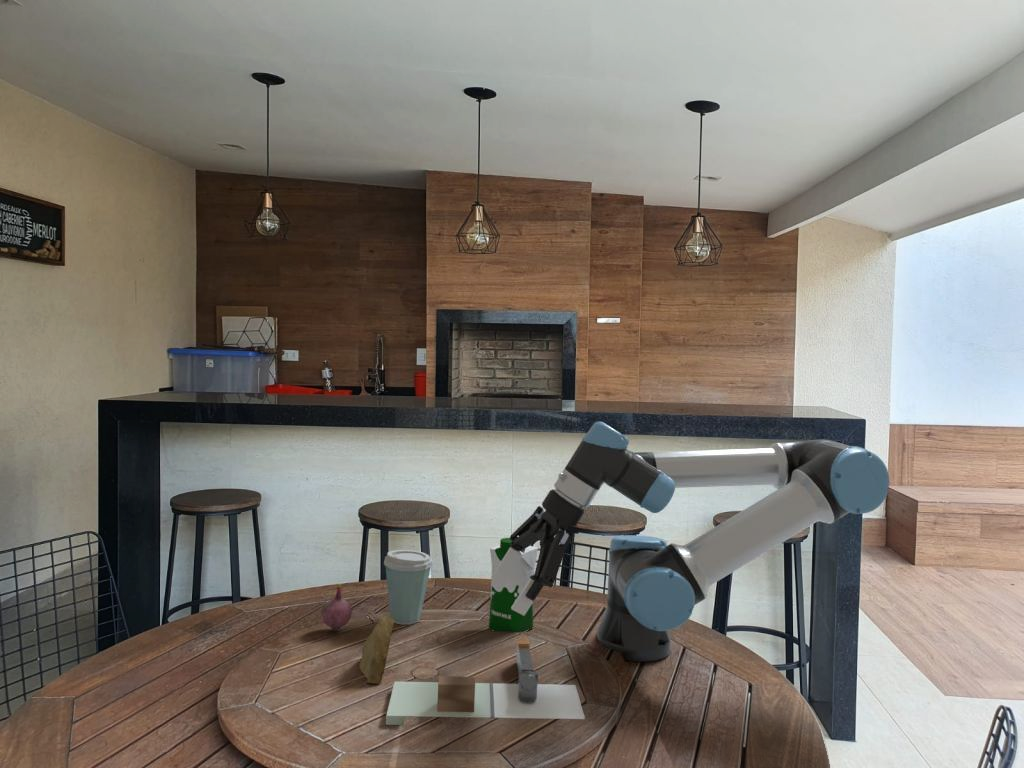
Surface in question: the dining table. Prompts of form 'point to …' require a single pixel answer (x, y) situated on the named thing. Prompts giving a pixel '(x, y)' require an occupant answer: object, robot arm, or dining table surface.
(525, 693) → the bar
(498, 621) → the milk carton
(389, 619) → the rock
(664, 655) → the robot arm
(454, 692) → the block
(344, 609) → the vegetable
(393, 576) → the disposable coffee cup
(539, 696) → the door plate
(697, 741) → the dining table surface
